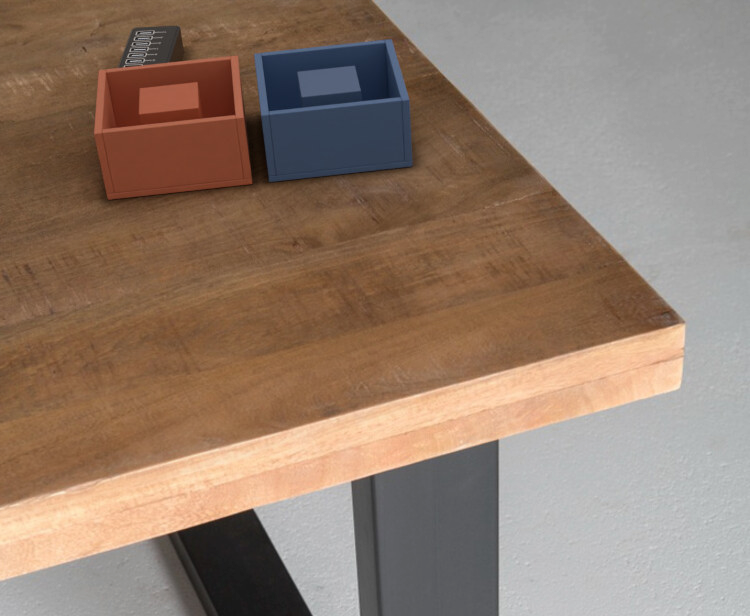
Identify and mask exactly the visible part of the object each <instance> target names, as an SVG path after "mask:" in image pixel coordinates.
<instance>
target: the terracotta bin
mask: <svg viewBox="0 0 750 616" xmlns="http://www.w3.org/2000/svg"><path fill="white" fill-rule="evenodd" d="M239 61H240V60H239V55H231V56H230V55H229V56H219V57H209V58H208V57H207V58H200V59H190V60H181V61H180V62H170V63H161V64H152V65H142V66H133V67H123V68H118V67H116V68H107V69H99V70H98V76H97V87H96V88H97V89H96V99H95V101H96V102H95V115H94V129H93V135H94V141H95V146H96V150H97V155H98V159H99V160H98V161H99V164H100V169H101V174H102V179H103V183H104V188H105V193H106V198H107V200H108V201H111V200H120V199H129V198H137V197H146V196H156V195H165V194H174V193H175V194H176V193H183V192H192V191H193V192H194V191H201V190H203V191H204V190H210V189H211V190H212V189H220V188H228V187H238V186H247V185H252V184H253V175H252V166H251V156H250V146H249V136H248V135H249V134H248V125H247V124H248V123H247V115H246V108H245V99H244V92H243V85H242V78H241V70H240V69H241V68H240V63H239ZM194 82H197V83H198V88H199V95H200V101H201V108H202V114H203V119H194V120H185V121H175V122H166V123H157V124H147V125H141V123H140V118H139V89H140V88H147V87H157V86H166V85H175V84H185V83H194Z"/></svg>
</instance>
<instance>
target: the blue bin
mask: <svg viewBox="0 0 750 616" xmlns="http://www.w3.org/2000/svg"><path fill="white" fill-rule="evenodd" d="M396 52H397V51H396V49H395V45H394V41H393V40H392V38H389V39H380V40H379V39H378V40H368V41H359V42H351V43H349V42H348V43H341V44H332V45H321V46H312V47H303V48H293V49H283V50H274V51H267V52H266V51H265V52H258V53H253V60H254V67H255V76H256V85H257V92H258V101H259V111H260V118H261V126H262V136H263V143H264V150H265V158H266V159H265V160H266V167H267V176H268V182H269V183H275V182H283V181H292V180H293V181H294V180H301V179H310V178H320V177H328V176H329V177H330V176H337V175H348V174H356V173H357V174H358V173H366V172H374V171H383V170H393V169H402V168H410V167H413V165H414V164H413V147H412V126H411V125H412V122H411V101H410V100H411V99H410V97H409V94H408V90H407V86H406V84H405V79H404V76H403V72H402V70H401V66H400V62H399V60H398V57H397V56H398V55H397V53H396ZM347 66H355V68H356V72H357V77H358V81H359V85H360V89H361V99H362V101H360V102H351V103H342V104H333V105H323V106H314V107H305V108H301V104H300V94H299V85H298V75H297V72H300V71H310V70H319V69H328V68H338V67H347Z"/></svg>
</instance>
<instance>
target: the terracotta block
mask: <svg viewBox="0 0 750 616" xmlns="http://www.w3.org/2000/svg"><path fill="white" fill-rule="evenodd" d="M139 118H140V123H141V125H147V124H157V123H166V122H175V121H185V120H194V119H203V114H202V108H201V101H200V95H199V88H198V83H197V82H194V83H185V84H175V85H166V86H157V87H147V88H140V89H139Z"/></svg>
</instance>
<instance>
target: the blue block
mask: <svg viewBox="0 0 750 616" xmlns="http://www.w3.org/2000/svg"><path fill="white" fill-rule="evenodd" d="M297 75H298V85H299V94H300V104H301V108H305V107H314V106H323V105H333V104H342V103H351V102H360V101H362V99H361V89H360V85H359V81H358V77H357V72H356V68H355V66H347V67H338V68H328V69H319V70H310V71H300V72H297Z"/></svg>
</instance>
